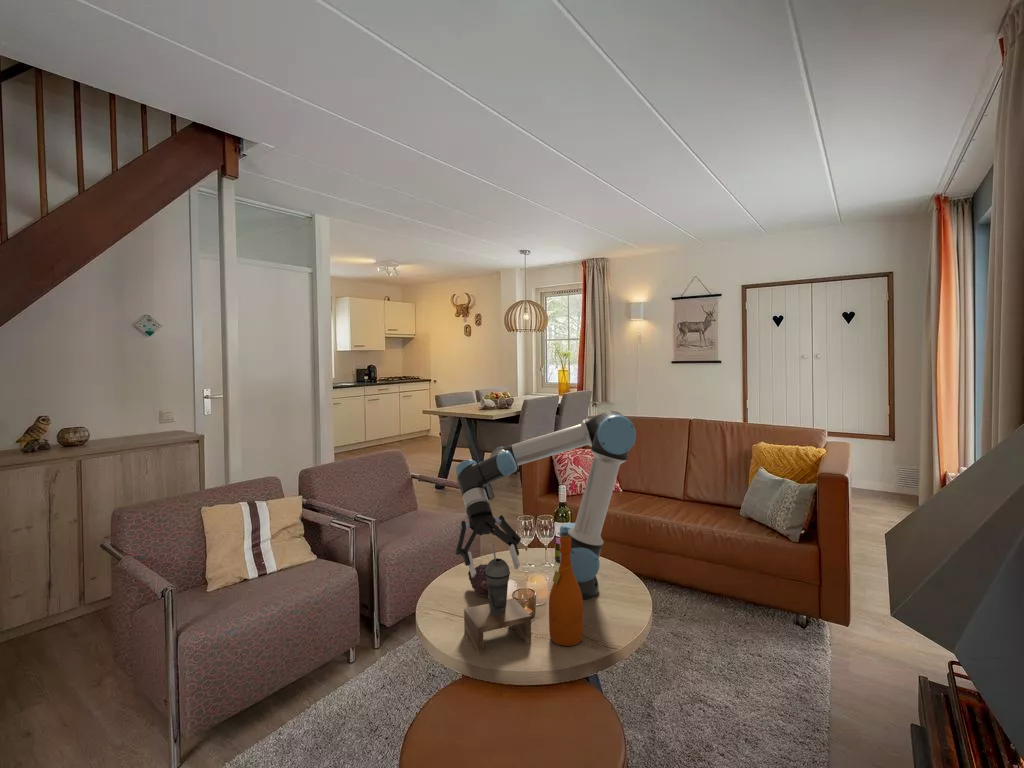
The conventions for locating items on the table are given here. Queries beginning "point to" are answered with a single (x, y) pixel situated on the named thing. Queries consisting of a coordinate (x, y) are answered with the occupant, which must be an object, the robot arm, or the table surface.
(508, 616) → the walnut shelf
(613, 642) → the table surface
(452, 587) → the table surface
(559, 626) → the wine bottle
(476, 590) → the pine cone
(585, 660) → the table surface
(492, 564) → the beverage cup
